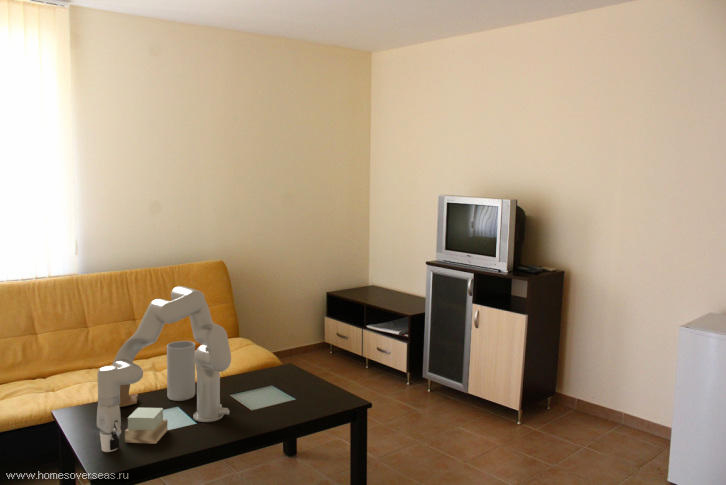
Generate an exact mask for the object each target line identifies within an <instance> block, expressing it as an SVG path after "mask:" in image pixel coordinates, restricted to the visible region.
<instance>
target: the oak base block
mask: <svg viewBox="0 0 726 485" xmlns="http://www.w3.org/2000/svg"><path fill="white" fill-rule="evenodd" d="M167 432H168V419H165V418H163V421H162V422H161V423H160V424H159V425H158V427H157V428H156V429H155V430H154V431H149V430H128V427H127V428H126V429H125V430H124V443H127V444H128V443H129V444H130V443H131V444H133V443H135V444H153V445H154V444H157V443H158V441H160V440H161V438H162V437H163V436H164V435H165V434H166V433H167Z"/></svg>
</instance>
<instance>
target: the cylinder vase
mask: <svg viewBox="0 0 726 485" xmlns="http://www.w3.org/2000/svg"><path fill="white" fill-rule="evenodd" d="M195 352H196V343H195V342H194V341H190V340H180V341H173V342H170V343H168V344H167V345H166V375H167V376H166V377H167V378H166V386H167V389H166V394H167V398H168V400H171V401H176V402H182V401H189V400H191V399H192V398H194V397H195V396H196V364H195Z"/></svg>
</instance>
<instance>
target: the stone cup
mask: <svg viewBox="0 0 726 485" xmlns="http://www.w3.org/2000/svg"><path fill="white" fill-rule="evenodd" d="M130 388H131V384H127V385H120V403H119V407H120V408H122V407H128V406H131V405H135V404H138V400H139V398H138V396H139V394H138V393H133V394H130Z"/></svg>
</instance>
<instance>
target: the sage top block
mask: <svg viewBox="0 0 726 485" xmlns="http://www.w3.org/2000/svg"><path fill="white" fill-rule="evenodd" d="M163 419H164V408H163V407H137V408H136V409H135V410H134V411H132V413H131V414H129V416H128V417H127V428H128V430H149V431H154V430H155V429H156V428H157V427H158V425H159V424H160V423H161V422H162V421H163Z"/></svg>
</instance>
